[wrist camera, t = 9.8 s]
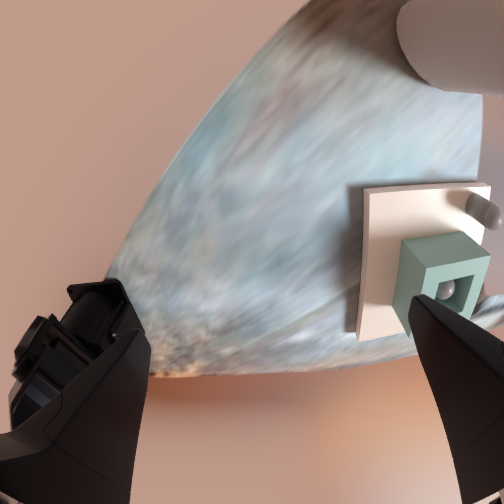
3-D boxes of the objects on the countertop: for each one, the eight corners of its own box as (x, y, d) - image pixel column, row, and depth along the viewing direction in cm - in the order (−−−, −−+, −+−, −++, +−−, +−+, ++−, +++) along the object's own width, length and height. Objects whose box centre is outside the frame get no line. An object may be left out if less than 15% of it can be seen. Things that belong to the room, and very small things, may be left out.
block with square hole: (391, 305, 22) (408, 338, 19) (401, 239, 19) (426, 268, 16) (448, 293, 22) (469, 320, 18) (463, 231, 18) (490, 255, 15)
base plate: (354, 330, 25) (368, 370, 21) (361, 187, 19) (391, 213, 14) (453, 307, 24) (474, 338, 20) (480, 181, 18) (517, 202, 13)
